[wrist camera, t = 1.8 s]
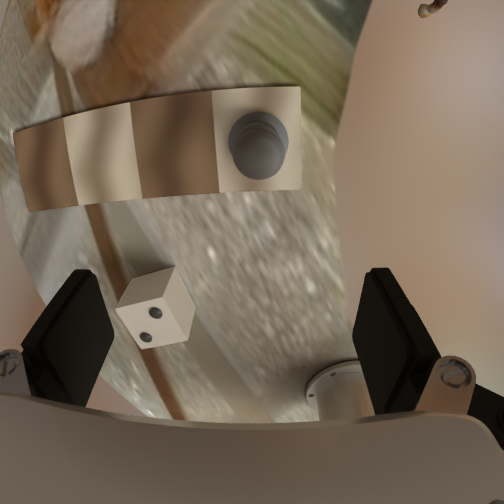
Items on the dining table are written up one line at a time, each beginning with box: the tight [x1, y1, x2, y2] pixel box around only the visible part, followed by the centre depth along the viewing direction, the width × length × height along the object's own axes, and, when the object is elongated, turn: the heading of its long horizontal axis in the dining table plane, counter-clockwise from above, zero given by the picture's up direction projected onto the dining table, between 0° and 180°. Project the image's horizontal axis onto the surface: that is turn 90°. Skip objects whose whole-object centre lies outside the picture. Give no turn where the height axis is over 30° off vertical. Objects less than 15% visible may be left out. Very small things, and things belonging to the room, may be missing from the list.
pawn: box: [228, 112, 289, 180], centre depth 24 cm, size 5×5×9 cm
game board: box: [13, 87, 302, 212], centre depth 29 cm, size 32×10×1 cm, turn 93°
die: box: [115, 266, 196, 349], centre depth 35 cm, size 6×6×6 cm
